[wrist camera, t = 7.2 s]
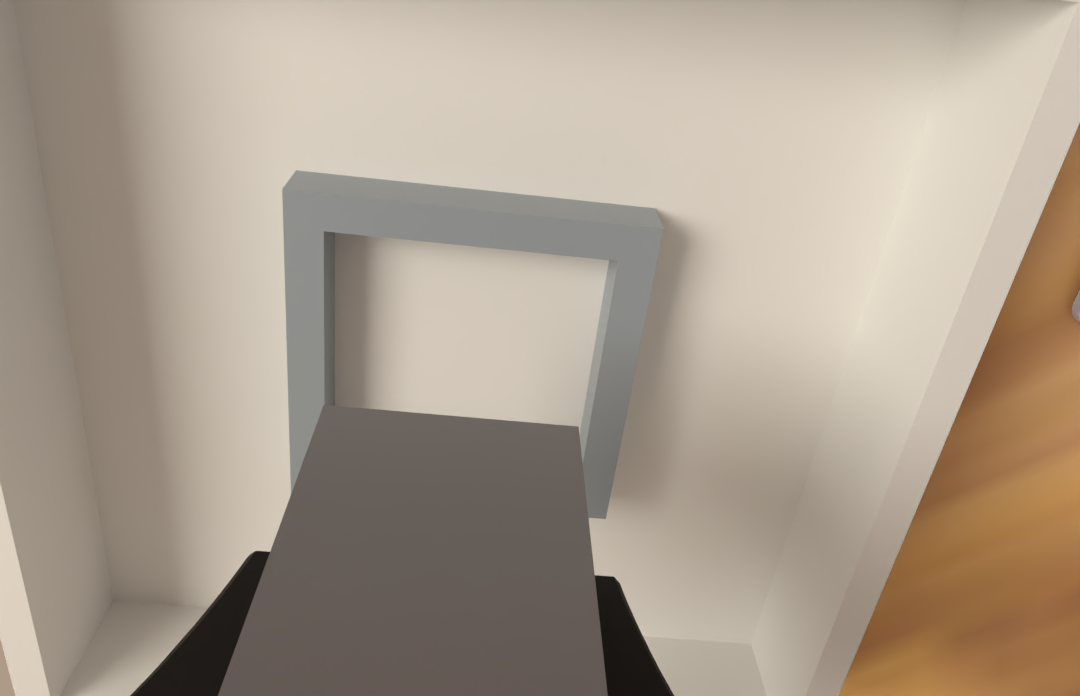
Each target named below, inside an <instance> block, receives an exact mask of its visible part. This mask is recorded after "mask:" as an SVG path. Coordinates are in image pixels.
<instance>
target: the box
mask: <svg viewBox="0 0 1080 696" xmlns="http://www.w3.org/2000/svg"><path fill="white" fill-rule="evenodd" d="M1079 123H1080V0H0V639H1V643H2V646H3V650H4V654H5V658H6V662H7V665H8V669H9V673H10V676H11V681H12V685H13V688H14V692H15V696H130V695H131V694H132V693H133V692H134V691H135V690H136V689H137V688H138V687H139V686H140V685H141V684H142V683H143V682H144V681H145V680H146V679H147V677H148V676H149V675H150V674H151V673H152V672H153V671H154V670H155V669H156V668H157V667H158V666H159V665H160V664H161V662H162V661H163V660H164V659H165V658H166V657H167V656H168V654H169V653H170V652H171V651H172V650H173V649H174V648H175V646H176V645H177V644H178V643H179V642H180V641H181V640H182V638H183V637H184V636H185V635H186V634H187V633H188V632H189V630H190V629H191V628H192V627H193V626H194V625H195V624H196V622H197V621H198V620H199V619H200V617H201V616H202V615H203V614H204V613H205V611H206V610H207V609H208V608H209V606H210V605H211V604H212V603H213V602H214V600H215V599H216V598H217V597H218V595H219V594H220V593H221V592H222V590H223V589H224V588H225V586H226V585H227V584H228V582H229V581H230V580H231V579H232V577H233V576H234V575H235V573H236V572H237V571H238V569H239V568H240V566H241V565H242V564H243V562H244V561H245V560H246V558H247V557H248V556H249V555H250V554H252V553H253V552H255V551H267V552H270V551H271V548H272V546H273V543H274V540H275V537H276V535H277V532H278V529H279V526H280V524H281V521H282V518H283V515H284V512H285V510H286V507H287V504H288V501H289V499H290V496H291V493H292V490H293V488H294V485H295V482H296V479H297V477H298V474H299V471H300V468H301V466H302V463H303V460H304V457H305V455H306V452H307V449H308V446H309V444H310V441H311V438H312V435H313V433H314V430H315V427H316V424H317V422H318V419H319V416H320V413H321V411H322V408H323V405H332V406H343V407H355V408H367V409H379V410H390V411H402V412H414V413H425V414H437V415H449V416H461V417H472V418H484V419H496V420H508V421H519V422H531V423H543V424H554V425H566V426H578V427H579V436H580V445H581V454H582V463H583V472H584V482H585V491H586V500H587V509H588V518H589V528H590V537H591V546H592V555H593V564H594V574H595V575H599V576H613V577H615V578H616V579H617V580H618V582H619V583H620V585H621V587H622V590H623V593H624V595H625V597H626V600H627V602H628V605H629V607H630V609H631V611H632V614H633V616H634V618H635V620H636V623H637V625H638V627H639V629H640V631H641V633H642V635H643V637H644V639H645V641H646V643H647V645H648V648H649V650H650V652H651V654H652V656H653V657H654V659H655V661H656V663H657V665H658V667H659V669H660V671H661V673H662V674H663V676H664V678H665V680H666V682H667V684H668V685H669V687H670V689H671V691H672V693H673V694H674V696H838V695H839V693H840V690H841V688H842V686H843V683H844V681H845V678H846V676H847V674H848V671H849V669H850V667H851V664H852V662H853V659H854V657H855V655H856V652H857V650H858V648H859V645H860V643H861V640H862V638H863V636H864V633H865V631H866V629H867V626H868V624H869V621H870V619H871V617H872V614H873V612H874V610H875V607H876V605H877V603H878V600H879V598H880V595H881V593H882V591H883V588H884V586H885V584H886V581H887V579H888V576H889V574H890V572H891V569H892V567H893V565H894V562H895V560H896V557H897V555H898V553H899V550H900V548H901V546H902V543H903V541H904V538H905V536H906V534H907V531H908V529H909V527H910V524H911V522H912V519H913V517H914V515H915V512H916V510H917V508H918V505H919V503H920V500H921V498H922V496H923V493H924V491H925V489H926V486H927V484H928V482H929V479H930V477H931V474H932V472H933V470H934V467H935V465H936V463H937V460H938V458H939V455H940V453H941V451H942V448H943V446H944V444H945V441H946V439H947V436H948V434H949V432H950V429H951V427H952V425H953V422H954V420H955V417H956V415H957V413H958V410H959V408H960V406H961V403H962V401H963V398H964V396H965V394H966V391H967V389H968V387H969V384H970V382H971V380H972V377H973V375H974V372H975V370H976V368H977V365H978V363H979V361H980V358H981V356H982V353H983V351H984V349H985V346H986V344H987V342H988V339H989V337H990V334H991V332H992V330H993V327H994V325H995V323H996V320H997V318H998V315H999V313H1000V311H1001V308H1002V306H1003V304H1004V301H1005V299H1006V296H1007V294H1008V292H1009V289H1010V287H1011V285H1012V282H1013V280H1014V278H1015V275H1016V273H1017V270H1018V268H1019V266H1020V263H1021V261H1022V259H1023V256H1024V254H1025V251H1026V249H1027V247H1028V244H1029V242H1030V240H1031V237H1032V235H1033V232H1034V230H1035V228H1036V225H1037V223H1038V221H1039V218H1040V216H1041V213H1042V211H1043V209H1044V206H1045V204H1046V202H1047V199H1048V197H1049V194H1050V192H1051V190H1052V187H1053V185H1054V183H1055V180H1056V178H1057V176H1058V173H1059V171H1060V168H1061V166H1062V164H1063V161H1064V159H1065V157H1066V154H1067V152H1068V149H1069V147H1070V145H1071V142H1072V140H1073V138H1074V135H1075V133H1076V130H1077V128H1078V126H1079Z"/></svg>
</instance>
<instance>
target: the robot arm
mask: <svg viewBox="0 0 1080 696" xmlns="http://www.w3.org/2000/svg"><path fill="white" fill-rule="evenodd" d="M1071 311H1072V315H1073V318H1074V319H1075V320H1076V321H1077V322H1078V323H1080V290H1079V292H1078V294H1077V296H1076V298H1075V300H1074V303H1073V306H1072V310H1071ZM269 554H270V552H267V551H255V552H253V553H252V554H250V555H249V556H248V557H247V558H246V560H245V561H244V562H243V564H242V565H241V566H240V568H239V569H238V571H237V572H236V573H235V575H234V576H233V577H232V579H231V580H230V581H229V582H228V584H227V585H226V586H225V588H224V589H223V590H222V592H221V593H220V594H219V595H218V597H217V598H216V599H215V600H214V602H213V603H212V604H211V605H210V606H209V608H208V609H207V610H206V611H205V613H204V614H203V615H202V616H201V617H200V619H199V620H198V621H197V622H196V624H195V625H194V626H193V627H192V628H191V629H190V630H189V632H188V633H187V634H186V635H185V636H184V637H183V638H182V640H181V641H180V642H179V643H178V644H177V645H176V646H175V648H174V649H173V650H172V651H171V652H170V653H169V654H168V656H167V657H166V658H165V659H164V660H163V661H162V662H161V664H160V665H159V666H158V667H157V668H156V669H155V670H154V671H153V672H152V673H151V674H150V675H149V676H148V677H147V679H146V680H145V681H144V682H143V683H142V684H141V685H140V686H139V687H138V688H137V689H136V690H135V691H134V692H133V693H132V694H131V695H130V696H218V694H219V691H220V689H221V686H222V683H223V680H224V678H225V675H226V672H227V669H228V667H229V664H230V661H231V658H232V656H233V653H234V650H235V647H236V645H237V642H238V639H239V636H240V634H241V631H242V628H243V625H244V623H245V620H246V617H247V614H248V612H249V609H250V606H251V603H252V601H253V598H254V595H255V592H256V590H257V587H258V584H259V581H260V579H261V576H262V573H263V570H264V568H265V565H266V562H267V559H268V557H269ZM595 583H596V592H597V601H598V610H599V620H600V629H601V638H602V647H603V656H604V666H605V675H606V684H607V693H608V696H674V694H673V693H672V691H671V689H670V687H669V685H668V684H667V682H666V680H665V678H664V676H663V674H662V673H661V671H660V669H659V667H658V665H657V663H656V661H655V659H654V657H653V656H652V654H651V652H650V650H649V648H648V645H647V643H646V641H645V639H644V637H643V635H642V633H641V631H640V629H639V627H638V625H637V623H636V620H635V618H634V616H633V614H632V611H631V609H630V607H629V605H628V602H627V600H626V597H625V595H624V593H623V590H622V587H621V585H620V583H619V582H618V580H617V579H616V578H615V577H613V576H599V575H595Z"/></svg>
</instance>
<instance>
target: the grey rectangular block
mask: <svg viewBox="0 0 1080 696" xmlns="http://www.w3.org/2000/svg"><path fill="white" fill-rule="evenodd" d="M218 696H608V693H607V684H606V675H605V666H604V656H603V647H602V638H601V629H600V620H599V610H598V601H597V592H596V583H595V574H594V564H593V555H592V546H591V537H590V528H589V518H588V509H587V500H586V491H585V482H584V472H583V463H582V454H581V445H580V436H579V427H578V426H566V425H554V424H543V423H531V422H519V421H508V420H496V419H484V418H472V417H461V416H449V415H437V414H425V413H414V412H402V411H390V410H379V409H367V408H355V407H343V406H332V405H323V408H322V411H321V413H320V416H319V419H318V422H317V424H316V427H315V430H314V433H313V435H312V438H311V441H310V444H309V446H308V449H307V452H306V455H305V457H304V460H303V463H302V466H301V468H300V471H299V474H298V477H297V479H296V482H295V485H294V488H293V490H292V493H291V496H290V499H289V501H288V504H287V507H286V510H285V512H284V515H283V518H282V521H281V524H280V526H279V529H278V532H277V535H276V537H275V540H274V543H273V546H272V548H271V551H270V554H269V557H268V559H267V562H266V565H265V568H264V570H263V573H262V576H261V579H260V581H259V584H258V587H257V590H256V592H255V595H254V598H253V601H252V603H251V606H250V609H249V612H248V614H247V617H246V620H245V623H244V625H243V628H242V631H241V634H240V636H239V639H238V642H237V645H236V647H235V650H234V653H233V656H232V658H231V661H230V664H229V667H228V669H227V672H226V675H225V678H224V680H223V683H222V686H221V689H220V691H219V694H218Z"/></svg>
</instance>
